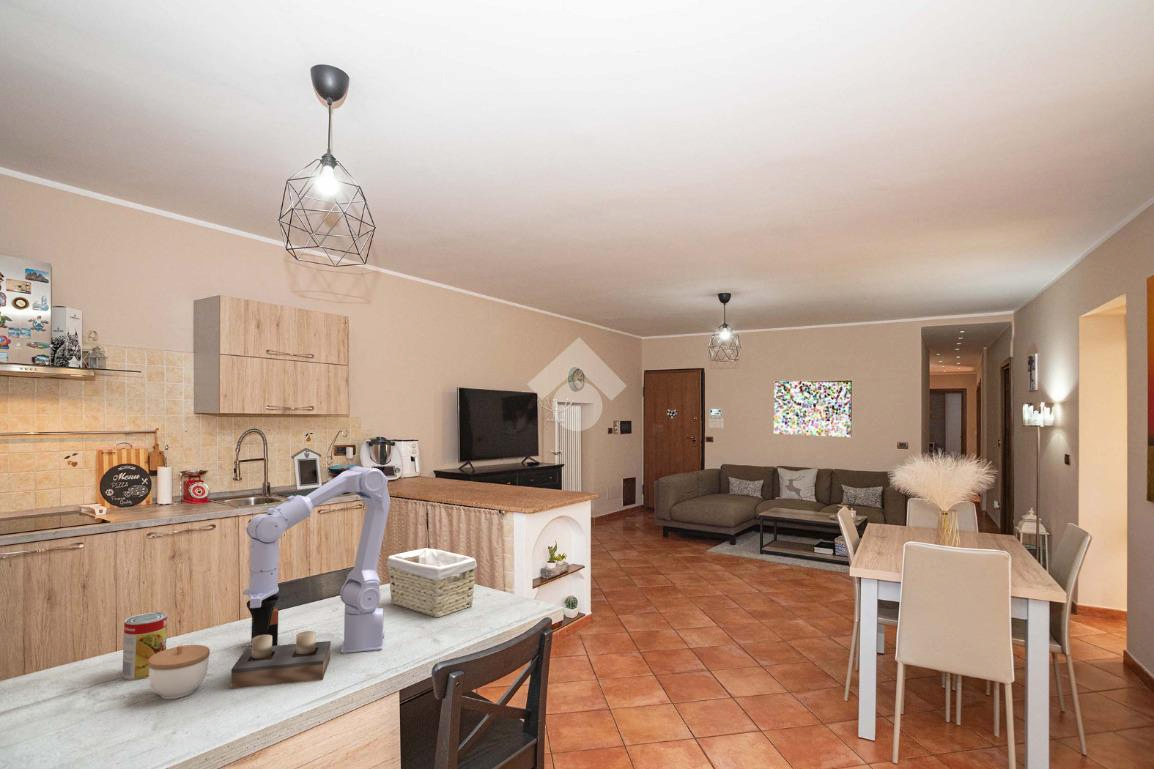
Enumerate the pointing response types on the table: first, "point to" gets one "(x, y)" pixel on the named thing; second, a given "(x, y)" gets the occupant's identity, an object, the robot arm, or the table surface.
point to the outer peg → (261, 646)
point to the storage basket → (432, 581)
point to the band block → (281, 666)
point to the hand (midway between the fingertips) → (262, 631)
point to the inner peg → (305, 642)
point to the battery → (272, 628)
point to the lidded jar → (178, 670)
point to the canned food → (142, 642)
